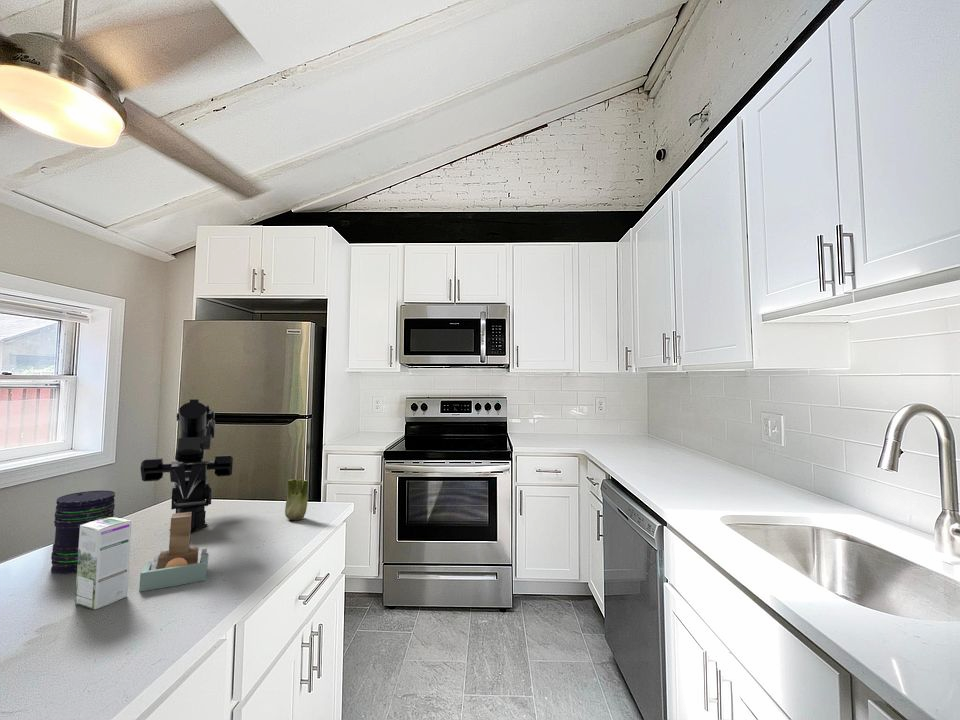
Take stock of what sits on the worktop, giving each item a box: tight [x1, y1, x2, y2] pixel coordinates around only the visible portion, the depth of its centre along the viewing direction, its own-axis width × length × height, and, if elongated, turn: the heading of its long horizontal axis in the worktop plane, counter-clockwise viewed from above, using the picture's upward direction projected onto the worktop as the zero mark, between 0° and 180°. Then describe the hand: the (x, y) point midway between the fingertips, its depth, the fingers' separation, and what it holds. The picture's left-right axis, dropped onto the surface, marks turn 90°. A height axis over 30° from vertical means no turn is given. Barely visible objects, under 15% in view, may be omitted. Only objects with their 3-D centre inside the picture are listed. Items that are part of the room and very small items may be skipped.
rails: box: [151, 548, 208, 570], centre depth 98 cm, size 8×10×1 cm
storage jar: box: [50, 490, 116, 575], centre depth 96 cm, size 10×10×15 cm
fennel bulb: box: [284, 478, 309, 521], centre depth 130 cm, size 6×5×12 cm
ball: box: [165, 558, 188, 568], centre depth 91 cm, size 4×4×4 cm
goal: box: [138, 554, 209, 593], centre depth 90 cm, size 6×11×4 cm, turn 120°
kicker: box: [157, 512, 200, 569], centre depth 95 cm, size 4×7×11 cm, turn 120°
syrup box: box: [74, 516, 132, 611], centre depth 81 cm, size 6×6×14 cm
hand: (185, 498), depth 102 cm, fingers closed
